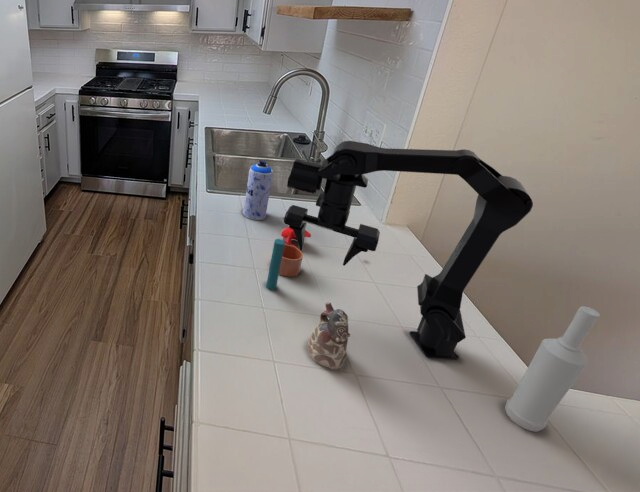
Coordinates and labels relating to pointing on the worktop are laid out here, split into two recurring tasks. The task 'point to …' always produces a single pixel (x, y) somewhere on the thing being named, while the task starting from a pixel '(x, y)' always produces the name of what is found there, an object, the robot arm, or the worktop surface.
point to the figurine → (330, 338)
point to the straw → (275, 264)
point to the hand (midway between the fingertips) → (322, 257)
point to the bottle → (551, 374)
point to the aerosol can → (258, 191)
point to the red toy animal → (291, 235)
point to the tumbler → (290, 261)
